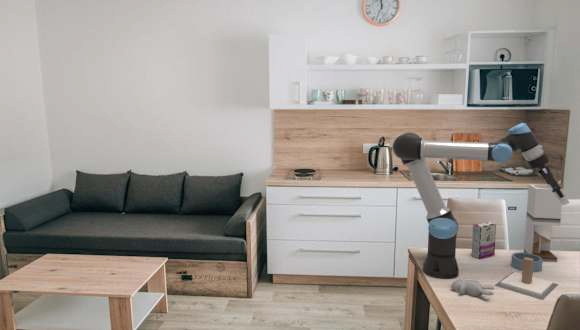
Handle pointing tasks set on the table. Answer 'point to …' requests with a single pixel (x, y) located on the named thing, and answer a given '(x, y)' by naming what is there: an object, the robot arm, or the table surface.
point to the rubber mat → (529, 293)
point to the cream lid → (527, 280)
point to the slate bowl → (518, 261)
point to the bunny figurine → (470, 287)
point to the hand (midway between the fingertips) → (563, 200)
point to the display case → (541, 221)
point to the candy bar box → (483, 240)
